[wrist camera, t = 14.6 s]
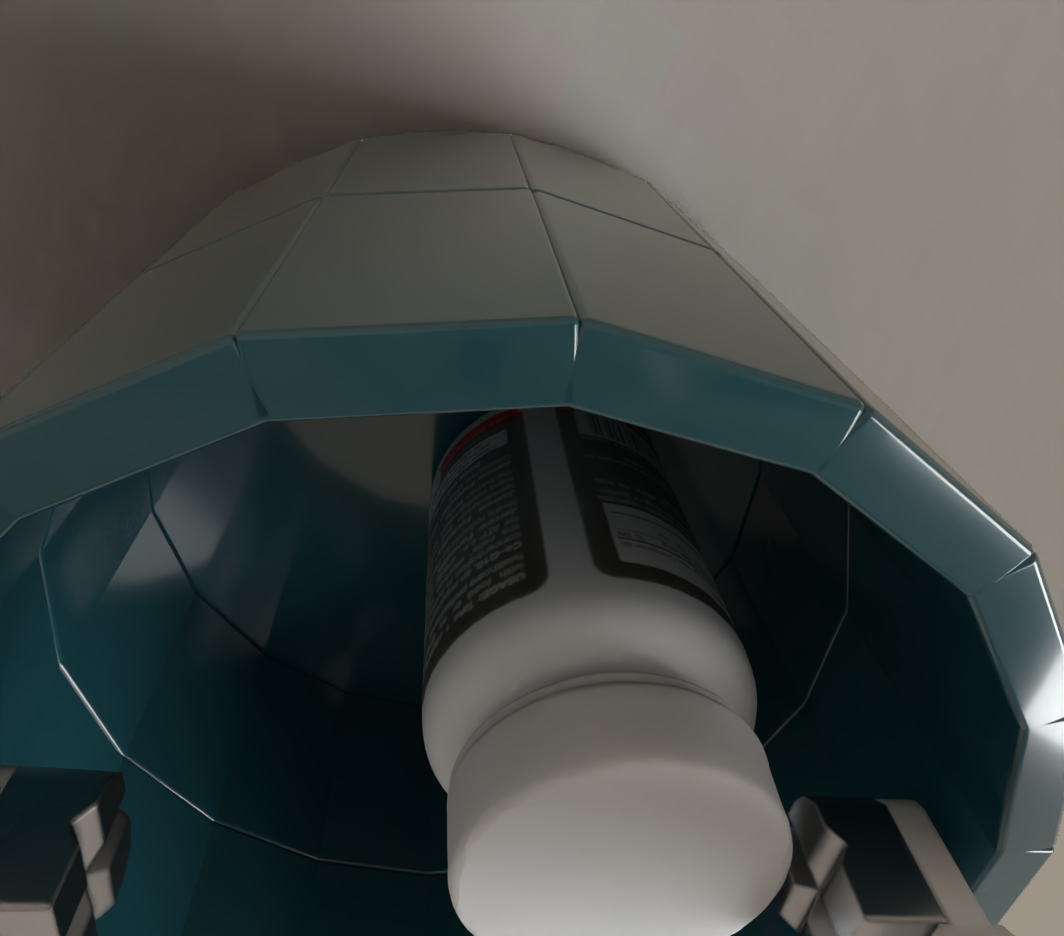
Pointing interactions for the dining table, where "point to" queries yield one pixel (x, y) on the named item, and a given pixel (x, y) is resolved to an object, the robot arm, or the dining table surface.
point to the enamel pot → (403, 519)
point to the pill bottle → (588, 693)
